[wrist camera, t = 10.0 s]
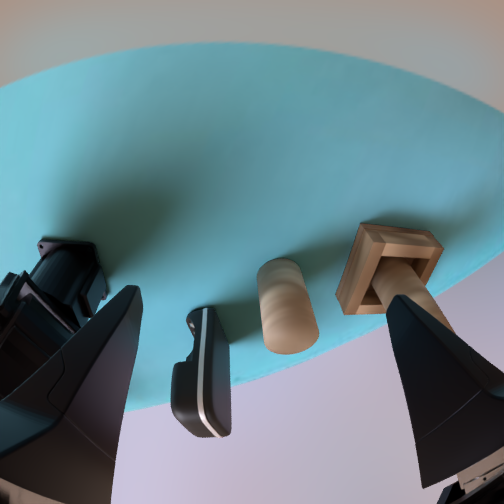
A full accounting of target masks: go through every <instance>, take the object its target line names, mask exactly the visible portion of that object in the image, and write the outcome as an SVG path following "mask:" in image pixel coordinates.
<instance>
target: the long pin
mask: <svg viewBox="0 0 504 504" xmlns="http://www.w3.org/2000/svg"><path fill="white" fill-rule="evenodd" d="M370 282H371V284H372V286H373V288H374V290H375V292H376V293H377V295H378V297H379V299H380V301H381V303H382V305H383V307H384V308H385V310H387V308H388V306H389V304H390V302H391V301H392V299H393V297H394V296H395V295H396V294H405V295H406V296H408V297H409V298H410V299H412V300H413V301H414V302H416V303H417V304H418V305H419V306H421V307H422V308H423V309H425V310H426V311H427V312H428V313H430V314H431V315H432V316H434V317H435V318H436V319H437V320H439V321H440V322H441V323H442V324H444V325H445V326H446V327H447V328H448V329H450V330H451V331H452V332H453V333H455V332H454V330H453V329H452V327H451V326H450V324H449V322H448V321H447V319H446V317H445V316H444V315H443V313H442V311H441V309H440V308H439V307H438V305H437V304H436V302H435V300H434V299H433V297H432V296H431V294H430V293H429V291H428V290H427V288H426V287H425V286H424V284H423V283H422V281H421V280H420V278H419V277H418V276H417V274H416V273H415V271H414V270H413V269H412V267H411V266H410V265H409V263H408V262H407V260H406V259H405V258H404V257H394V256H381V258H380V260H379V263H378V265H377V267H376V270H375V272H374V274H373V277H372V279H371V281H370Z"/></svg>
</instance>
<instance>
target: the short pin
mask: <svg viewBox="0 0 504 504" xmlns="http://www.w3.org/2000/svg"><path fill="white" fill-rule="evenodd" d="M257 285H258V294H259V302H260V311H261V319H262V328H263V337H264V344H265V346H266V348H267V349H268V350H270V351H272V352H274V353H277V354H285V355H287V354H295V353H299V352H302V351H304V350H306V349H308V348H310V347H311V346H312V345H313V344H314V343H315V342H316V341H317V339H318V337H319V330H318V326H317V323H316V319H315V316H314V312H313V309H312V306H311V302H310V299H309V295H308V292H307V289H306V285H305V282H304V279H303V276H302V272H301V269H300V267H299V266H298V264H297V263H295V262H294V261H292V260H289V259H284V258H279V259H274V260H271V261H268V262H267V263H265V264H264V265H263V266H262V267H261V268H260V269H259V271H258V273H257Z"/></svg>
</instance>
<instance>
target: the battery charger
mask: <svg viewBox="0 0 504 504" xmlns="http://www.w3.org/2000/svg"><path fill="white" fill-rule="evenodd" d="M186 322H187V325H188V327H189V329H190V331H191V333H192V335H193V337H194V346H193V350H192V352H191V353H190V354H189V356H188V357H187V358H186V361H184V362H178V363H176V364H175V365H174V367H173V372H172V382H171V409H172V412H173V414H174V416H175V418H176V419H177V420H178V421H179V422H180V423H181V424H182V425H183V426H184V427H185V428H186V429H187V430H188V431H189V432H191V433H192V434H193V435H195V436H197V437H202V438H203V437H205V438H206V437H217V438H223V437H225V436H228V435H230V433H231V389H230V353H229V344H228V342H227V339H226V336H225V334H224V331H223V329H222V326H221V324H220V321H219V319H218V316H217V314H216V311H215V309H213V308H210V309H208V308H204V309H203V310H197V311H193V312H191V313H189V314H188V315H187V318H186Z"/></svg>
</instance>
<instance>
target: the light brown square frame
mask: <svg viewBox="0 0 504 504" xmlns="http://www.w3.org/2000/svg"><path fill="white" fill-rule="evenodd" d="M443 250H444V248H443V247H442V245H441V244H440V243H439V242H438V241H437V240H436V239H435V238H434V237H433V235H432V233H431V232H430V231H422V230H415V229H407V228H398V227H390V226H381V225H372V224H363V223H360V226H359V229H358V232H357V235H356V238H355V241H354V244H353V247H352V250H351V253H350V256H349V259H348V262H347V264H346V267H345V270H344V273H343V275H342V278H341V281H340V284H339V286H338V289H337V292H336V294H335V295H336V297H337V300H338V301H339V303H340V306H341V308H342V311H343V314H344V315H355V314H383V313H386V310H385V308H384V307H383V305H382V303H381V301H380V299H379V297H378V295H377V293H376V292H375V290H374V288H373V286H372V284H371V282H370V281H371V279H372V277H373V274H374V272H375V270H376V267H377V265H378V263H379V260H380V258H381V256H394V257H404V258H405V259H406V260H407V262H408V263H409V265H410V266H411V267H412V269H413V270H414V271H415V273H416V274H417V276H418V277H419V278H420V280H421V281H422V283H423V284H424V286H425V285H426V284H427V282H428V280H429V278H430V276H431V274H432V272H433V270H434V268H435V266H436V264H437V262H438V260H439V258H440V256H441V254H442V252H443Z"/></svg>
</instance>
